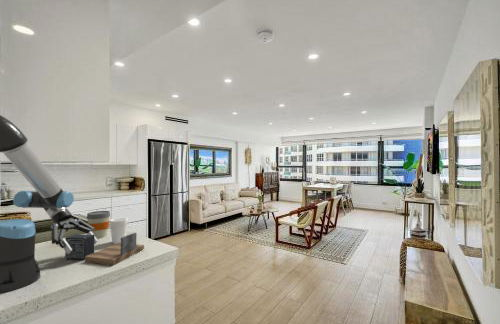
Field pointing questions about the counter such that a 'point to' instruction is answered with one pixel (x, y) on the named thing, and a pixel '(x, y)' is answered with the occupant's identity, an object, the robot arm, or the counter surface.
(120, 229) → the foam cup
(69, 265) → the counter surface
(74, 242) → the small box
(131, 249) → the wooden base with plate
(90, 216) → the reusable coffee cup
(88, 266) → the counter surface
